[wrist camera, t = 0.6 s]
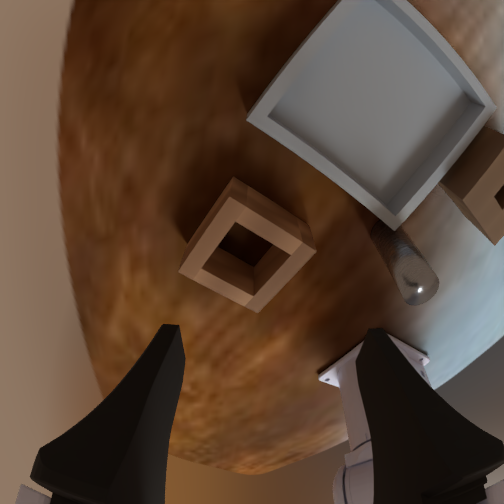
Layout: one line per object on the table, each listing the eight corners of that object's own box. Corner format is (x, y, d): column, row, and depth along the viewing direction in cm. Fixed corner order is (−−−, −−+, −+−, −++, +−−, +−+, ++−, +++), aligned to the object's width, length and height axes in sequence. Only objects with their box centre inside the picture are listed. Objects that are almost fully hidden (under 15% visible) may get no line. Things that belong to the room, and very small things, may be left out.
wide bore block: (308, 225, 19) (316, 251, 17) (257, 283, 22) (257, 313, 19) (233, 176, 18) (229, 196, 15) (187, 244, 20) (178, 271, 18)
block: (503, 169, 16) (537, 192, 13) (465, 216, 19) (494, 245, 15) (472, 121, 15) (510, 138, 12) (429, 174, 17) (462, 200, 14)
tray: (475, 100, 14) (496, 107, 12) (381, 213, 19) (394, 231, 17) (356, -20, 11) (370, -30, 9) (247, 113, 16) (246, 120, 14)
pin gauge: (406, 229, 19) (445, 284, 14) (384, 251, 20) (417, 310, 15) (386, 211, 19) (425, 265, 14) (364, 235, 20) (395, 295, 15)
